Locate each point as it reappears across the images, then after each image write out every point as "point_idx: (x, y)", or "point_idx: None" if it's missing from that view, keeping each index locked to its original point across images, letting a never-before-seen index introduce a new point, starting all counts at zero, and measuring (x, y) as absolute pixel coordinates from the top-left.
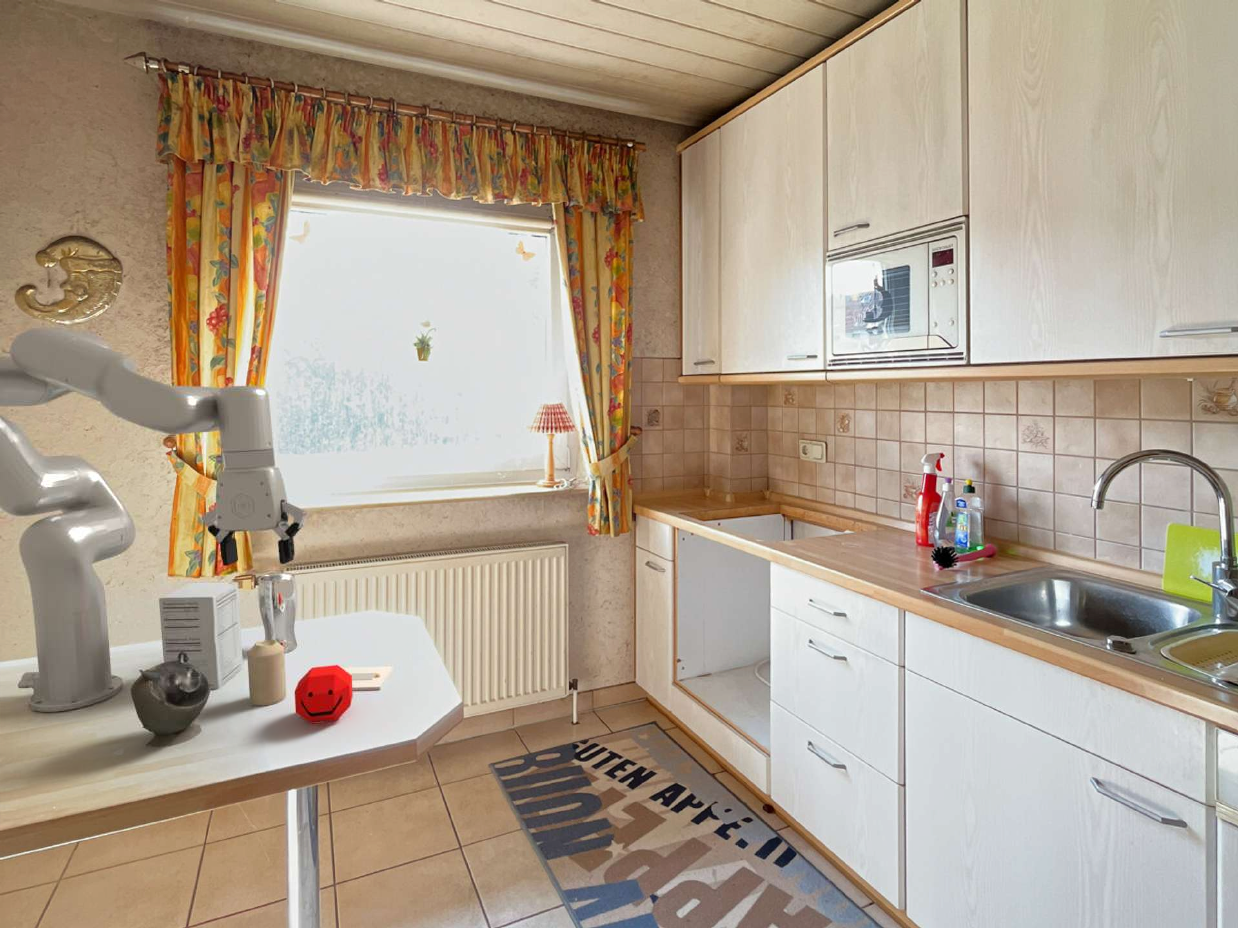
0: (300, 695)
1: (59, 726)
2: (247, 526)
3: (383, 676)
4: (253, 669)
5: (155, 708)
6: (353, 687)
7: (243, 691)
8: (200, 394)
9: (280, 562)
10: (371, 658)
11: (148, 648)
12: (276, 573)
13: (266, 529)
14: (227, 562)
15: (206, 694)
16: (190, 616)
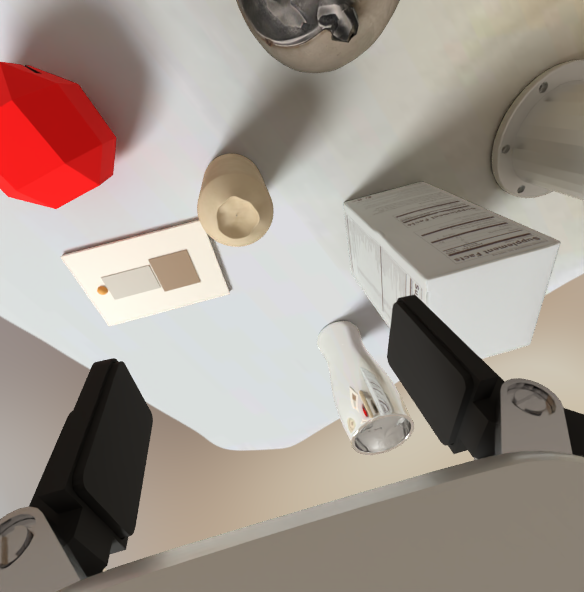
0: (33, 73)
1: (526, 8)
2: (299, 573)
3: (92, 292)
4: (237, 166)
5: None
6: (108, 245)
7: (296, 201)
8: None
9: (117, 363)
10: (179, 344)
11: None
12: (395, 446)
13: (68, 590)
14: (399, 307)
15: (241, 2)
16: (453, 240)
